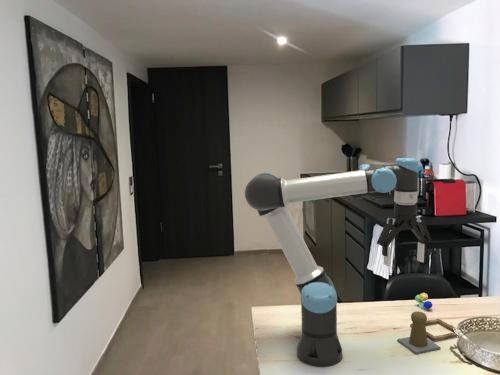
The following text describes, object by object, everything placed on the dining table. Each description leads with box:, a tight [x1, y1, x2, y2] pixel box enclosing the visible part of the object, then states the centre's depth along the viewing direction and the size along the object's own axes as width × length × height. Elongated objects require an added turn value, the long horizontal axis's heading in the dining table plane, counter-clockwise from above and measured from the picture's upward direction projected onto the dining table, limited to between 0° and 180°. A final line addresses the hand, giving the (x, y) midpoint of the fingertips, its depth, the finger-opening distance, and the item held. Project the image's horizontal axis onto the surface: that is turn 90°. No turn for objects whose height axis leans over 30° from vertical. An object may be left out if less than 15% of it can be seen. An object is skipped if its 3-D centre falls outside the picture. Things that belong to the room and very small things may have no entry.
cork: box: [409, 311, 428, 347], centre depth 152 cm, size 6×6×11 cm
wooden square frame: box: [409, 318, 458, 343], centre depth 163 cm, size 13×13×1 cm
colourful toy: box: [414, 292, 433, 310], centre depth 184 cm, size 8×3×6 cm, turn 20°
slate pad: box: [396, 336, 442, 355], centre depth 153 cm, size 10×10×1 cm
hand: (403, 263), depth 154 cm, fingers open, 13 cm apart
